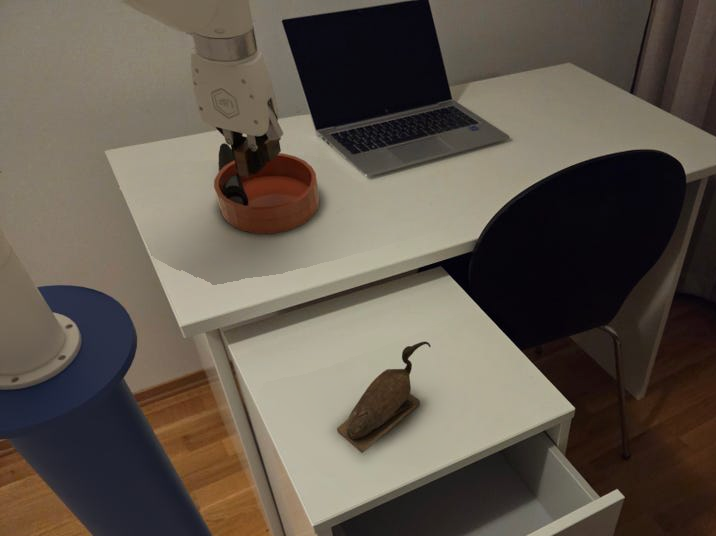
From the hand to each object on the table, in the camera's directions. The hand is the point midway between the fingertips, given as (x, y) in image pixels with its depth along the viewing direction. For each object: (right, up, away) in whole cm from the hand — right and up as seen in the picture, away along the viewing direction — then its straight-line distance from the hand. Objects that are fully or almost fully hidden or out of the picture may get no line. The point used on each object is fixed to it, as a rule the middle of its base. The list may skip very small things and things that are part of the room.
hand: (251, 167), depth 95 cm
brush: (+1, +2, +2) cm, 3 cm away
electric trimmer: (-7, 0, +10) cm, 12 cm away
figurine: (+23, -35, -16) cm, 45 cm away
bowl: (0, -4, +8) cm, 9 cm away
